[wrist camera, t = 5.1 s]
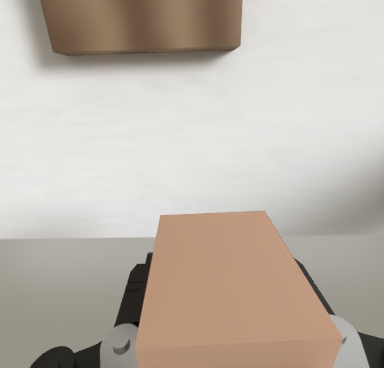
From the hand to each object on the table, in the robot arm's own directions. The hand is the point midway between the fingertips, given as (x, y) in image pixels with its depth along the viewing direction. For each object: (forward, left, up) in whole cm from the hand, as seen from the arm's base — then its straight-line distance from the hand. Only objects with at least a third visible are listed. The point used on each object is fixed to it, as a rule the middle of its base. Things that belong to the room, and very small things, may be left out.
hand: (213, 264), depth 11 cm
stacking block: (0, 0, -1) cm, 1 cm away
